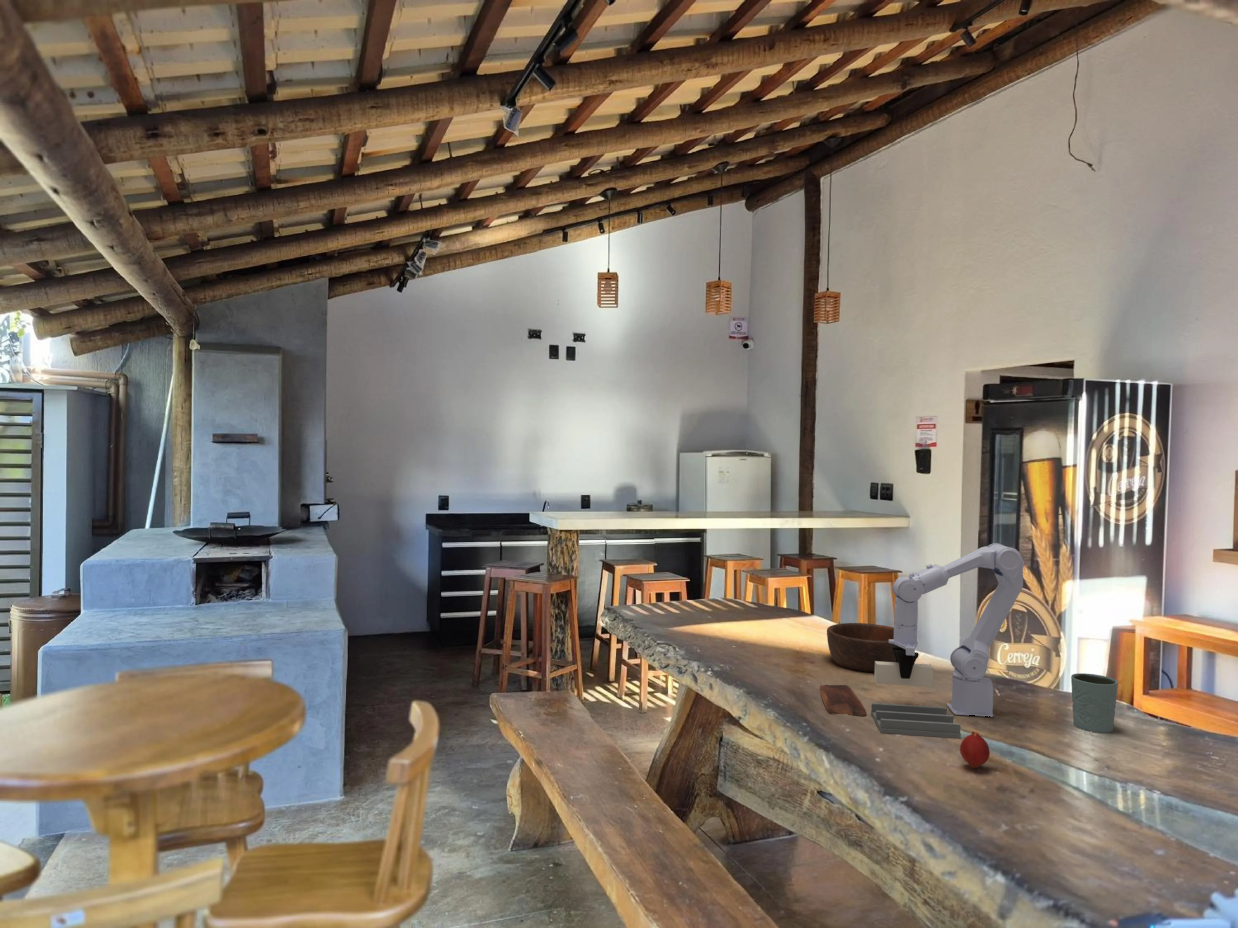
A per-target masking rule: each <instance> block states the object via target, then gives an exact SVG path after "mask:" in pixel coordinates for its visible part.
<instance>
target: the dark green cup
mask: <svg viewBox="0 0 1238 928" xmlns="http://www.w3.org/2000/svg"><path fill="white" fill-rule="evenodd" d="M1070 680H1071V682H1070V683H1071V701H1072V724H1073V726H1074V727H1076V728H1078V729H1080V728H1081V729H1080V730H1083V729H1084V730H1083V731H1086V730H1087V731H1086V732H1090V731H1092V732H1091V733H1096V732H1097V734H1110V733H1112V732H1113V731H1114V726H1115V724H1114V723H1115V715H1116V710H1115V709H1116V706H1117V705H1116V704H1117V693H1118V685H1119V682H1118V680H1117V679H1115V678H1112V677H1109V676H1105V675H1101V674H1094V673H1079V672H1078V673H1073V674H1071V676H1070Z"/></svg>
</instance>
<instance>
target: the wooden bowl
mask: <svg viewBox="0 0 1238 928" xmlns="http://www.w3.org/2000/svg"><path fill="white" fill-rule="evenodd" d="M826 636H827V637H826V638H827V645H828V650H829V653H830V656H831V658H832V660H833V661H834V662H835V664H837V665H838V666H841V667H843V668H845V669H848V670H849V669H850V670H853V671H857V672H865V673H866V672H867V673H875V661H880V662H896V659H895V655H894V652H893V650H892V647H891V646H897V645H895V644H891V643H889V639H894V626H889V625H882V624H875V623H864V622H844V623H836V624H832V625H830V626H828V627H827V629H826Z"/></svg>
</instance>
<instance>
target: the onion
mask: <svg viewBox="0 0 1238 928" xmlns="http://www.w3.org/2000/svg"><path fill="white" fill-rule="evenodd" d="M959 751H960V755H961V757H962V759H963V760H964V761H965V762H966V763H967V764H968V765H969V766H970V767H971V768H972V769H977V768H979V767H981V766H982V765H984V764H986V762H988V760H989V758H990V754H991V753H990V747H989V744H988V742H987V741H986V740H985V738H983V737H982V736H981V735H980V733H979V732H978V731H977V730H973V731H971V734H968V735H966V736H965V737H964V738H963V739H962V741H961V743H960V746H959Z"/></svg>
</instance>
